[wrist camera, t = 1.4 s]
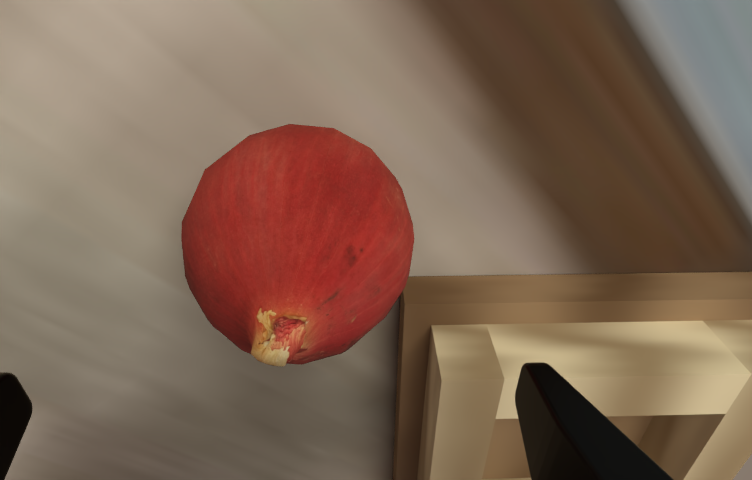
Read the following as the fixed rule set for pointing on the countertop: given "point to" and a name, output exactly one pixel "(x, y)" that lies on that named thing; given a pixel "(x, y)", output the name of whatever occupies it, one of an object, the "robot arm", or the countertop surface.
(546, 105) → the countertop surface
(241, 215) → the onion
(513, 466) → the cradle board
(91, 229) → the countertop surface
